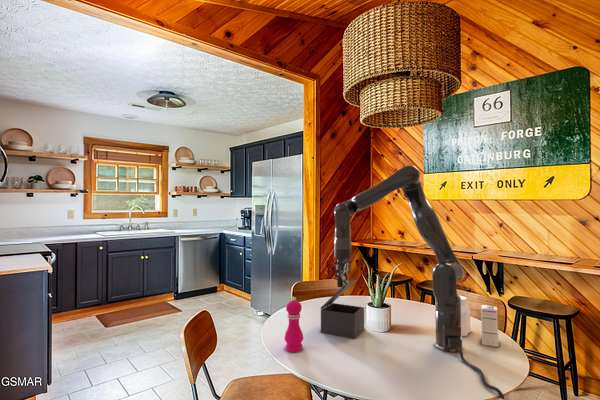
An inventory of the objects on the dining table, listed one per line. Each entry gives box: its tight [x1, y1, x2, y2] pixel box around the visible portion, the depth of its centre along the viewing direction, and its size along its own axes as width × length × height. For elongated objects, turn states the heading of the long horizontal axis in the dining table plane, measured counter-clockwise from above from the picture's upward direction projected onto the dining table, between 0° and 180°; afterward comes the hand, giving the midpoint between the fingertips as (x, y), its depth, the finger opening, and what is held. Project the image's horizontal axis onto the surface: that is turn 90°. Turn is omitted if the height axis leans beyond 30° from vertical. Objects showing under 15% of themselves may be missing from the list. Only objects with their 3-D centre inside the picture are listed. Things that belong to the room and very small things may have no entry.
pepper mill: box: [284, 296, 304, 353], centre depth 134 cm, size 7×7×20 cm
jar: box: [458, 294, 472, 337], centre depth 152 cm, size 12×10×15 cm
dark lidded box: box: [320, 302, 365, 339], centre depth 154 cm, size 16×13×10 cm
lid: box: [320, 276, 357, 310], centre depth 155 cm, size 16×13×5 cm
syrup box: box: [480, 304, 499, 348], centre depth 139 cm, size 6×6×14 cm
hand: (342, 285), depth 154 cm, fingers closed on lid, 5 cm apart
